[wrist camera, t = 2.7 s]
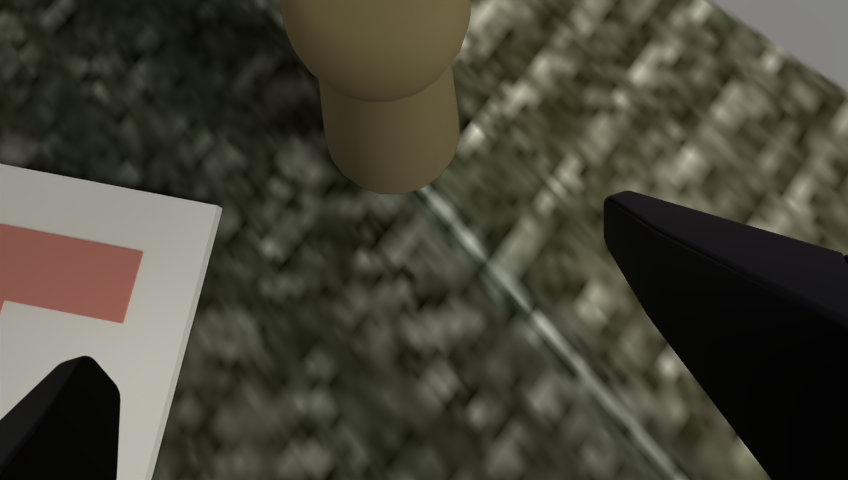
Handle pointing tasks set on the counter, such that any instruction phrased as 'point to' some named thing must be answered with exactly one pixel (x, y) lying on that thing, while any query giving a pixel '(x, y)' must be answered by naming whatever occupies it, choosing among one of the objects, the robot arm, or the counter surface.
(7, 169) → the letter board
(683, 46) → the counter surface
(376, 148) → the cork
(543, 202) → the counter surface
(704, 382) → the robot arm
